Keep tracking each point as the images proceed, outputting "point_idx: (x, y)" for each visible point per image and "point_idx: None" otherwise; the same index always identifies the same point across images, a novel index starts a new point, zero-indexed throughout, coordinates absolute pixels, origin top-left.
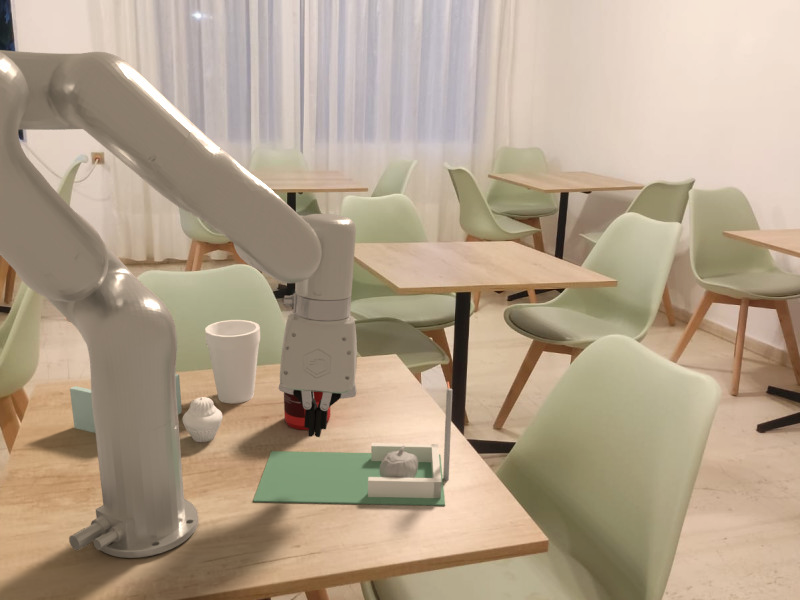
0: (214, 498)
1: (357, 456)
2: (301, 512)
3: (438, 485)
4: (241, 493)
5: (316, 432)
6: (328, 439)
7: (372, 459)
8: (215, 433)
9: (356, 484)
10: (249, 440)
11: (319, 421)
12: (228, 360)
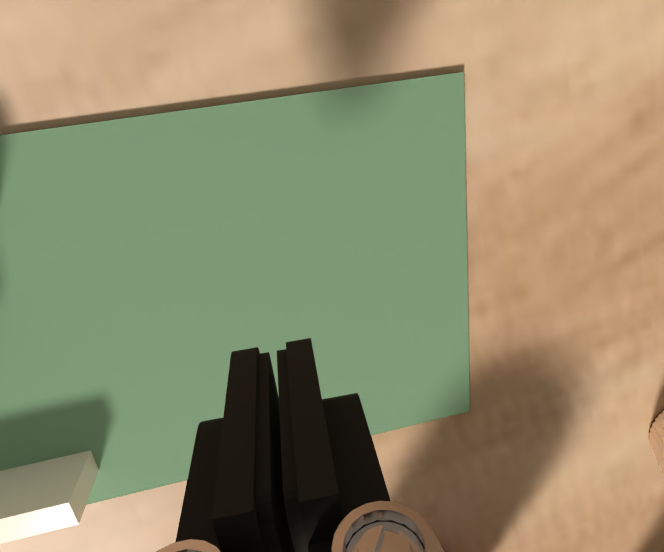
0: (601, 74)
1: (157, 463)
2: (245, 19)
3: None
4: (514, 128)
5: (253, 362)
6: None
7: (84, 456)
8: (659, 441)
9: (80, 277)
10: (546, 451)
11: (230, 428)
12: None
